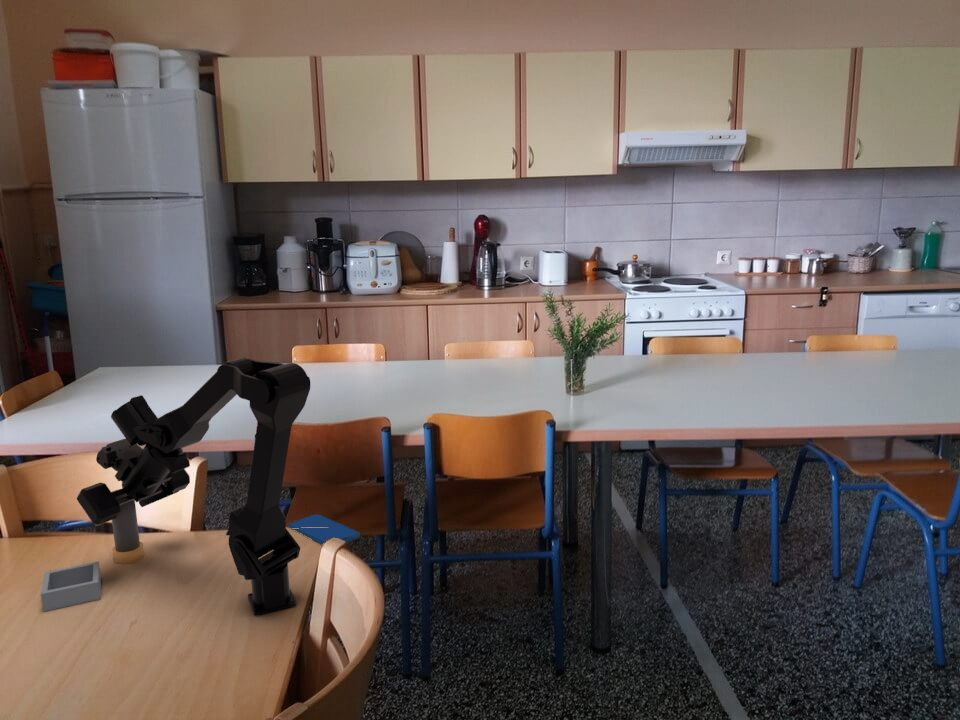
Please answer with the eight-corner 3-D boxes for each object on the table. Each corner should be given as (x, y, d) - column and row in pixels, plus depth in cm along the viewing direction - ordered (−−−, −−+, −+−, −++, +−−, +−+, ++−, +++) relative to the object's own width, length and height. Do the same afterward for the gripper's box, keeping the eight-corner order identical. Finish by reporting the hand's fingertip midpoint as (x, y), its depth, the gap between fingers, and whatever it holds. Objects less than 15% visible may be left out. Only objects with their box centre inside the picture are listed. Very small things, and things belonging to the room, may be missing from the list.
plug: (138, 563, 131) (130, 497, 128) (109, 564, 131) (100, 498, 128) (148, 550, 136) (140, 486, 133) (120, 551, 136) (112, 488, 133)
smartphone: (317, 513, 150) (362, 533, 140) (317, 517, 151) (362, 537, 140) (285, 524, 145) (329, 546, 135) (285, 529, 145) (329, 550, 135)
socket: (100, 599, 119) (98, 582, 118) (43, 611, 116) (40, 594, 115) (100, 577, 126) (98, 561, 125) (47, 588, 123) (44, 572, 122)
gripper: (172, 414, 134) (139, 463, 142) (76, 443, 118) (43, 497, 126) (207, 461, 132) (171, 508, 140) (114, 498, 116) (78, 549, 124)
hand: (118, 514), depth 132 cm, fingers open, 9 cm apart
